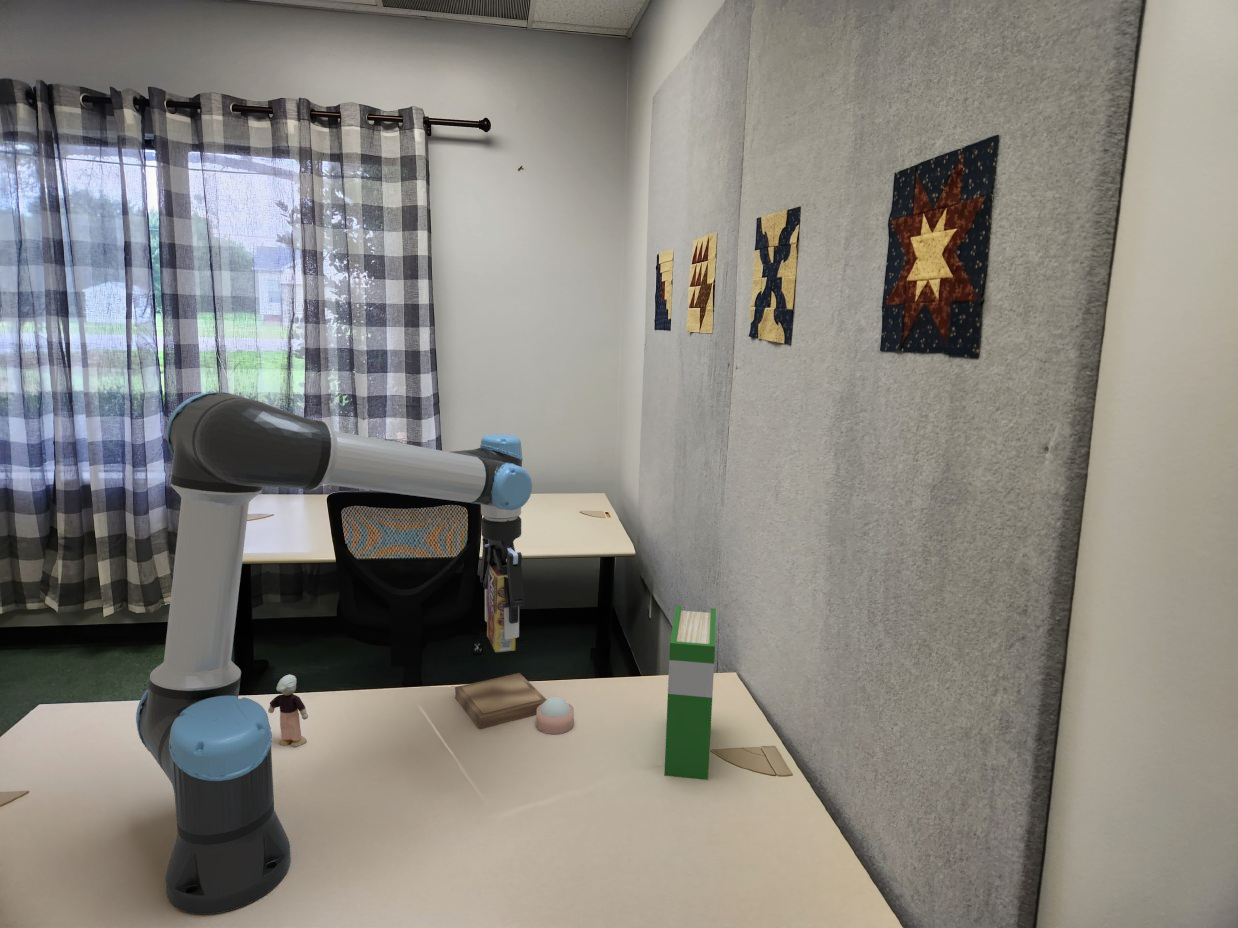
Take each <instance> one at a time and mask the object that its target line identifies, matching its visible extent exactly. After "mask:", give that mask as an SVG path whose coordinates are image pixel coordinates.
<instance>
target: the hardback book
mask: <svg viewBox="0 0 1238 928" xmlns="http://www.w3.org/2000/svg"><path fill="white" fill-rule="evenodd" d="M716 611H717V609H716V608H715V607H714V608H712V607H711V608H710V612H704V611H691V610H689V611H688V610H682V606H681V605H676V606H675V610H674V617H673V622H672V627H671V628H672V629H671V634H670V640H669V641H670V642H669V657H668V659H669V661H668V680H667V681H668V683H667V685H668V686H667V700H666V701H667V702H666V703H667V704H666V706H667V707H666V726H665V729H666V730H665V748H664V751H665V752H664V753H665V754H664V777H665V776H666V777H673V778H674V777H675V778H676V777H677V778H684V779H695V780H701V781H703V780H704V781H708V780H709V765H710V764H709V763H710V746H711V729H712V711H713V692H714V675H715V656H716V654H715V653H716V625H717V624H716V623H717V619H716V617H717V612H716Z"/></svg>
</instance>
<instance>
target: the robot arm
mask: <svg viewBox="0 0 1238 928" xmlns="http://www.w3.org/2000/svg"><path fill="white" fill-rule="evenodd" d="M165 431H166V434H165V435H166V436H165V437H166V441H167V444H168V449H169V450H170V452H171V454H172V455H173V456H172V465H171V476H170V487H171V488H172V489H173V490H175V492H176V493H177V494H178V495H179V497H180V498H181V500H180V507H179V509H180V511H179V516H178V517H179V520H178V526H177V536H176V546H175V555H174V556H175V557H174V565H173V573H172V582H171V583H172V584H171V592H170V593H171V594H170V599H169V600H170V602H169V611H168V620H167V627H166V628H167V629H166V630H167V631H166V636H165V637H166V638H165V646H164V647H165V648H164V657H163V662H161V664H159V665H158V666H156V667H155V668H154V669H153V670H152V671H151V672H150V675H149V682H148V689H145V691H144V693H143V694H142V696H141V698H140V700H139V702H138V705H137V709H136V713H135V714H136V715H135V723H136V728H137V729H136V730H137V734H138V736H139V739H140V740H141V744H143V745H144V747H145V748H146V750H147V751H148V752H149V753H150V754H151V756H152V757H153V758H154V760H155V761H156V763H157V764H158V766H159V767H160V768H161V770H162V771H163V772H164V774H165V775H166V777H167V778H168V780H169V782H170V783H171V785H172V788H173V793H174V804H175V807H174V808H175V817H176V819H175V820H176V827H177V828H176V829H177V835H176V839H175V842H174V846H173V849H172V852H171V856H170V859H169V861H168V862H169V863H168V866H167V869H166V873H165V887H166V896H167V899H168V901H169V903H170V904H171V905H172V906H174V908H176V909H178V910H179V911H181V912H184V913H189V914H195V915H211V914H219V913H224V912H228V911H229V912H230V911H233V910H235V909H239V908H241V907H244V906H247V905H249V904H251V903H253V902H254V901H257V900H258V899H260V898H262V897H264V896H265V895H267V894H268V893H269V892H270V891H272V890H273V889H275V887H277V886H278V884H280V883H281V882H282V880H283V879H285V876H286V875H287V873H288V872H289V869H290V866H291V863H292V862H291V854H292V853H291V844H290V840H289V837H288V835H287V833H286V831H285V830H284V827H283V825H282V823H281V821H280V818H279V817H278V815H277V812H276V811H275V801H274V781H273V780H274V779H273V778H274V777H273V775H274V774H273V759H272V758H273V757H272V739H273V733H272V730H271V729H272V727H271V724H270V721H269V716H268V713H267V711H266V709H265V708H264V707H263V706H262V705H261V704H260V703H259V702H258V701H256V700H254V699H251V698H249V697H246V696H245V697H241V698H239V694H240V693H239V692H240V684H241V675H242V671H241V669H240V668H239V666H237V664H235V663H234V662H233V661H232V656H233V645H234V636H235V628H236V618H237V611H238V602H239V593H240V585H241V584H240V583H241V577H242V576H241V575H242V567H243V557H244V551H245V550H244V548H245V540H246V532H247V531H246V530H247V524H248V523H247V522H248V515H249V505H250V502H251V501H252V500H253V499H255V498H256V497H257V496H259V495H260V494H261V493H262V491H263V487H265V488H266V487H267V488H285V489H298V490H299V489H300V490H309V491H315V490H317V489H319V488H320V487H321V486H322V485H327V486H328V485H329V486H335V487H344V488H351V489H352V488H353V489H360V490H367V491H374V492H375V491H376V492H383V493H389V494H398V495H399V494H400V495H408V496H416V497H422V498H423V497H425V498H430V499H431V498H432V499H439V500H447V501H455V502H462V503H470V504H475V505H476V504H477V505H480V515H481V516H483V517H482V518H481V520H480V521H481V522H480V524H481V525H480V526H481V527H480V528H481V536H482V552H481V553H482V554H481V555H482V556H481V566H480V575H479V581H480V583H483V584H482V585H483V588H484V621H485V623H487V600H488V598H487V597H488V575H489V567H490V566H493V565H497V569H498V571H499V572H501V574H503V575H508V578H507V577H504V594H505V599H506V604H505V605H503V607H504V639H505V640H507V639H512V638H516V639H517V638H519V637H520V606H525V605H526V604H525V603H526V601H525V591H524V580H523V578H524V577H523V569H522V568H523V567H522V561H523V560H522V559H523V555H522V552H519V551H518V552H516V548H515V544H514V541H515V540H516V539H519V538H520V537H521V536H522V518H521V517H520V516H521V514H522V507H523V506H524V505H526V504H527V503H528V501H529V499H530V497H531V494H532V489H533V482H532V477H531V474H530V473H529V471H528V470H526V468H524V467H523V455H522V453H523V450H522V442H521V439H520V438H519V437H518V436H516V435H511V434H500V433H499V434H497V433H496V434H488V435H484V436H483V437H481V441H480V444H479V446H480V447H478V448H474V449H467V450H465V449H463V450H453V451H452V450H451V451H445V450H440V449H435V448H429V447H424V446H418V445H412V444H407V443H403V442H401V443H400V442H397V441H396V442H395V441H391V440H387V439H386V440H385V439H380V438H376V437H375V438H374V437H371V436H370V437H369V436H365V435H358V434H352V433H349V432H348V433H346V432H342V431H337V430H332V429H331V427H330V425H329V424H328V422H325V421H322V420H319V419H318V420H317V419H313V418H310V417H309V418H307V417H304V416H301V415H298V414H294V413H291V412H288V411H286V410H283V409H280V408H278V407H275V406H272V405H270V404H267V403H264V402H262V401H259V400H256V399H252V398H247V397H244V396H243V397H242V396H240V395H237V394H234V393H228V392H225V391H224V392H223V391H222V392H219V391H213V392H212V391H211V392H203V393H199V394H196V395H193V396H191V397H189V398H188V399H186V400H184V401H182V402H181V403H180V404H178V406H177V407H175V409H174V410H173V412H172V413H171V414H170V417H169V419H168V422H167V425H166V430H165ZM506 565H507V566H506Z"/></svg>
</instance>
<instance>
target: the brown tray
mask: <svg viewBox="0 0 1238 928" xmlns="http://www.w3.org/2000/svg"><path fill="white" fill-rule="evenodd" d="M454 698H455V699H456V701H457V702H458V703H459V704H460V706H461V707H462V709H464V711H465V712H466V713H467V715H468V716H469V717H470V718H471V720H472V721H473V722H474V723H475V724H476V726H477V727H478V729H479V730H484V729H487V728H491V727H496V726H499V725H503V724H507V723H512V722H516V721H519V720H522V719H526V718H529V717H530V718H531V717H534V716H537V708H538V706H539V705H541V704H543V703H544V702H545V701H546V700H548V699H547V698H546V697H545V696H544V695H543V694H541V692H540V691H538V689H537V688H535V686H534V685H532V683H530V682H529V681H528V680H527V679H526V678H525V676H523V675H522V673H520V672H517V673H512V674H509V675H504V676H499V677H496V678H491V679H486V680H481V681H477V682H473V683H468V684H463V685H458V686H455V687H454Z"/></svg>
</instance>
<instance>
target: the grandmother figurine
mask: <svg viewBox="0 0 1238 928" xmlns="http://www.w3.org/2000/svg"><path fill="white" fill-rule="evenodd" d="M296 689H297V677H296V676H295V675H293V674H287V675H284V676H283V677H282V678H280V680H279V681H278V683H277V686H276V691H277V692H280V693H281V694H279V695H277V696H275V697H274V698H272V700H271V701H270V702H269V708H268V709H267V712H268V713H270V714H273V713H274V712H275V709H277V708H279V712H280V713H279V714H280V715H279V727H280V734H281V735H280V736H281V740H280V742H279V745H280V746H287V745H289V744H290V746H291V747H293V748H295V747H296V748H297V747H300V746H302V745H305V744H306V743H307V741H308V740H307V738H306V737H305V736H302V730H301V723H300V722H301V721H300V720H301V719H302V720H307V719H308V718H309V714H308V713H307V709H306V706H305V704H304V703H303V701H302V699H301V697H300V696H298V695H296V694H294V693H295V692H296ZM300 716H301V719H300Z"/></svg>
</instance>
